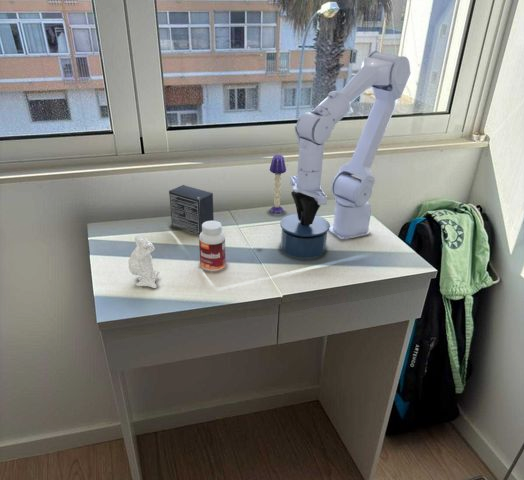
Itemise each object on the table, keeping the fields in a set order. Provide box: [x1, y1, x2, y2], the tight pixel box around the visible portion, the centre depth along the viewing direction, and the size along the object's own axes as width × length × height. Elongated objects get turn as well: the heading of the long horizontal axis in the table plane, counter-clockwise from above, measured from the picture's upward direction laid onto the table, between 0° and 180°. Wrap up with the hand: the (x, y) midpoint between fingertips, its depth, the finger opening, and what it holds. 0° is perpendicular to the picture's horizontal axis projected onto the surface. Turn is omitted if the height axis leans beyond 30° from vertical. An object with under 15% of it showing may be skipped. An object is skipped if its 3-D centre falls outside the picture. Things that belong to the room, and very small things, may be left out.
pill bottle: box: [198, 220, 226, 272], centre depth 124 cm, size 6×6×11 cm
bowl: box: [280, 228, 328, 259], centre depth 134 cm, size 12×12×6 cm
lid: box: [279, 209, 331, 237], centre depth 130 cm, size 13×13×5 cm
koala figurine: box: [128, 236, 160, 289], centre depth 117 cm, size 8×7×12 cm
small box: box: [168, 184, 215, 236], centre depth 140 cm, size 11×6×10 cm, turn 58°
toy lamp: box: [269, 154, 287, 215], centre depth 148 cm, size 5×5×17 cm
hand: (305, 221), depth 131 cm, fingers closed on lid, 2 cm apart
